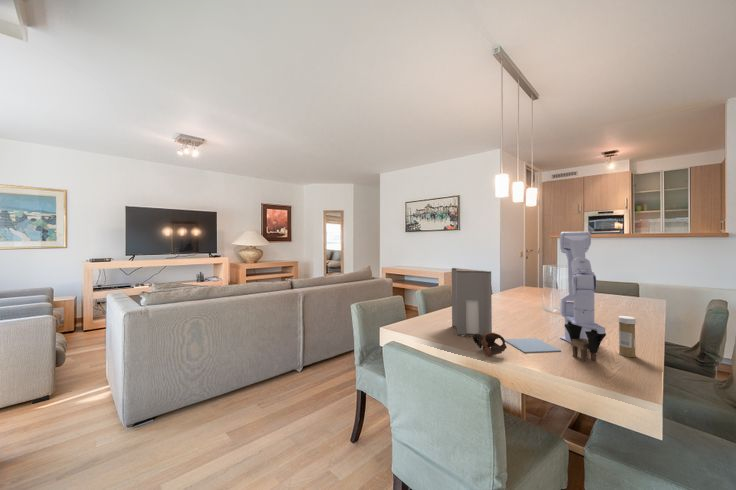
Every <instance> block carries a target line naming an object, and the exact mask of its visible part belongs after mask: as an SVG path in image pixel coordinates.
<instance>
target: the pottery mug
mask: <svg viewBox="0 0 736 490" xmlns="http://www.w3.org/2000/svg"><path fill="white" fill-rule="evenodd" d="M498 339H499V340H501V342H502V343H501V345H500V344H498V343H496V340H498ZM504 339H505V338H504V337H503V336H502V335H500V334H498V333H496V332H492V333H486V334H485V335H484V336H482V335H480V334H474V336H472V340H473V342H474V343H475V344H476V346H478V349H482V350H484V349H485V352H484V355H485V356H486V357H490V356H493V355H499V354H502V353H503V352H505V350H506V349H507V344H506V341H505V340H504Z"/></svg>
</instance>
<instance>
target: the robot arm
mask: <svg viewBox="0 0 736 490" xmlns="http://www.w3.org/2000/svg"><path fill="white" fill-rule="evenodd" d="M559 243H560V244H559V246H560V248H559V250H560V252H561V253H562V254H565V256H566V259H567V283H568V287H567V288H568V289H567V290H568V292H567V294H565V295H563V296H562V297H561V298H560V305H559V307H560V315H561V317H562V318H564V336H559V338H560V339H562V340H564V341H566V342H568V343H570V344H572V339H583V338H585V339H588V342H589V350H588V351H589V353H590V354H591V353H596V354H597V353H598V352H599V349H600V345H601V344H602V342H603V340H604V339H605V338H606V336H607V333H606V327H605V326H604V327H603V326H602V325H600V324H598V323H596V322H595V292H596V291H597V288H598V287H597V286H598V282H597V281H598V280H597V276H596V274H595V272H593V269H592V266H591V261H590V260H589V259H588V258H587V257H586V253H588V251H589V249H590V247H591V244H592V235H591V232H590V231H588V230H587V231H561V232H560V233H559Z"/></svg>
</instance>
